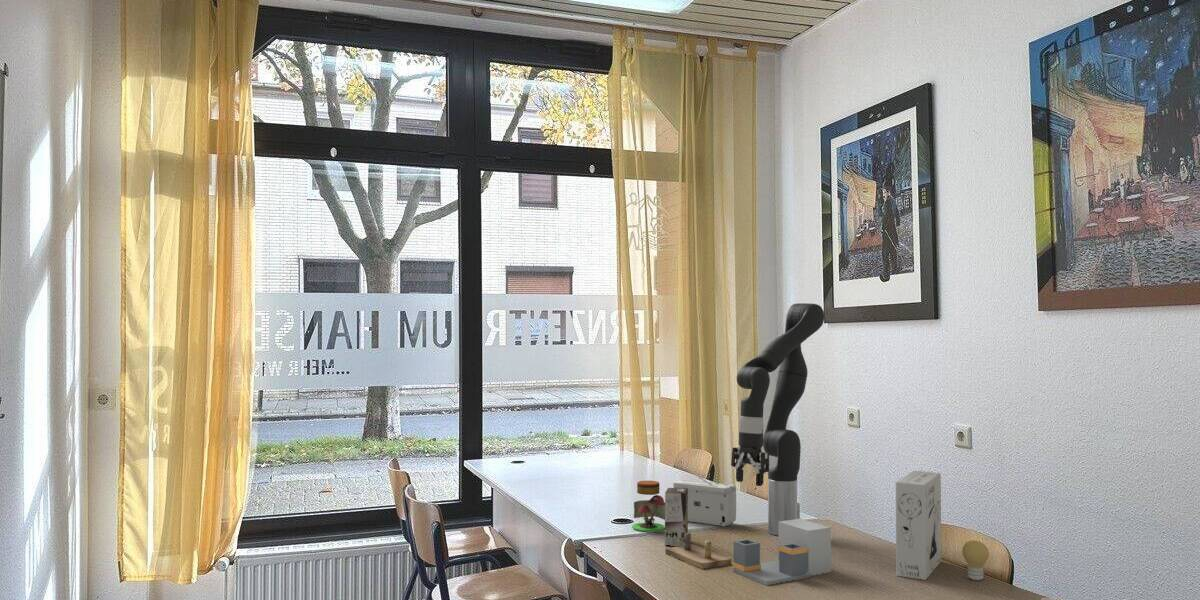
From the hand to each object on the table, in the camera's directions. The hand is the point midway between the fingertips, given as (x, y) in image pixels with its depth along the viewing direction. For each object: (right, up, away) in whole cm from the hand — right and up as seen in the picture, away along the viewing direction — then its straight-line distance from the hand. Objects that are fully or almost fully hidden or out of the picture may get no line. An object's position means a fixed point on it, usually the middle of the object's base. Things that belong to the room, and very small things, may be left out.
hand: (749, 483), depth 266 cm
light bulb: (+53, -17, -40) cm, 68 cm away
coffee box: (-23, -18, -3) cm, 29 cm away
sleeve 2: (+5, -15, -39) cm, 42 cm away
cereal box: (+41, -17, -30) cm, 54 cm away
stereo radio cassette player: (-11, -19, +25) cm, 33 cm away
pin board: (-18, -17, -21) cm, 33 cm away
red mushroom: (-30, -18, +16) cm, 38 cm away
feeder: (+3, -17, -35) cm, 39 cm away
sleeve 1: (-7, -16, -34) cm, 38 cm away
